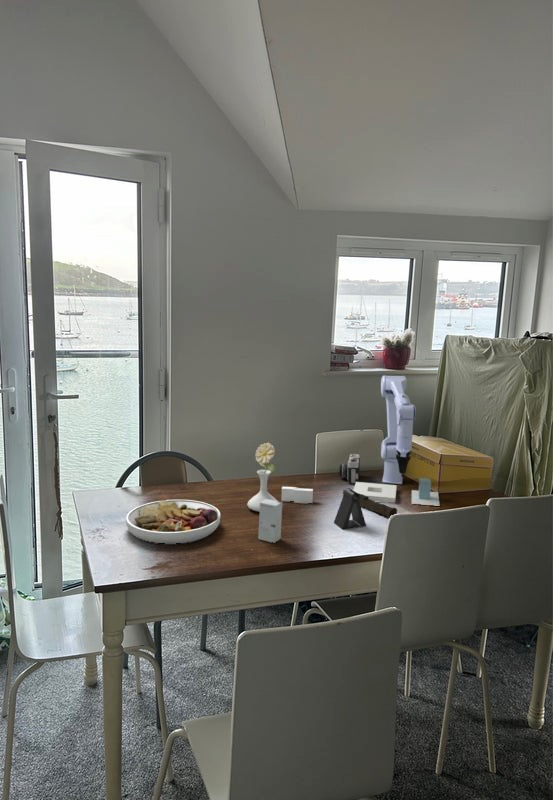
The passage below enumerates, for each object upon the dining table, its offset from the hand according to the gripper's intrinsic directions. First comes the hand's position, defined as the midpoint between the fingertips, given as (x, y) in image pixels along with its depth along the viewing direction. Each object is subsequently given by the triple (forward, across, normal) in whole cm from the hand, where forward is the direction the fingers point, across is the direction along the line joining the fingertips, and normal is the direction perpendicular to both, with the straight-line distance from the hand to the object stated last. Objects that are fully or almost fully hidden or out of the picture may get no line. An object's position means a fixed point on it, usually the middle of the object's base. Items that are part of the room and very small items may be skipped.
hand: (402, 470), depth 235 cm
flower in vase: (+10, +32, -47) cm, 58 cm away
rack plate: (+9, +4, -10) cm, 14 cm away
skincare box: (+10, +57, -39) cm, 70 cm away
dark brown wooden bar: (+10, +23, -10) cm, 27 cm away
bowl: (+10, +57, -71) cm, 92 cm away
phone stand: (+10, +38, -16) cm, 42 cm away
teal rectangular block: (+9, +4, +9) cm, 13 cm away
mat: (+9, +4, +9) cm, 14 cm away
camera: (+10, -13, -21) cm, 27 cm away
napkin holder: (+10, +19, -38) cm, 44 cm away
